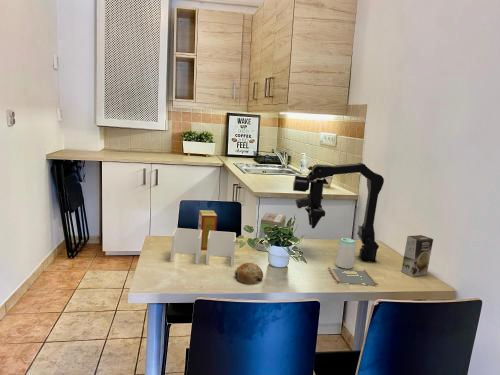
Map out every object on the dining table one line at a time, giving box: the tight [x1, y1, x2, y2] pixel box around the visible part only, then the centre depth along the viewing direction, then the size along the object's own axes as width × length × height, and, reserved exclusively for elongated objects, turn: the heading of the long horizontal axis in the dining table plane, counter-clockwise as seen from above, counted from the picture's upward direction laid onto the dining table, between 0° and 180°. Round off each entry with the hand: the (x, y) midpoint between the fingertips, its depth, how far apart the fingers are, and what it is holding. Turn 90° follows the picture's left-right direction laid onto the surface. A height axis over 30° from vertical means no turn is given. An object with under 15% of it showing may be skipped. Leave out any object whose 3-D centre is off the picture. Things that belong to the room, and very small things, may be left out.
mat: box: [327, 266, 379, 286], centre depth 162 cm, size 16×14×1 cm
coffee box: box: [400, 234, 434, 278], centre depth 171 cm, size 9×6×16 cm
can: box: [335, 237, 357, 270], centre depth 172 cm, size 7×7×12 cm
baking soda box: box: [197, 209, 218, 251], centre depth 181 cm, size 10×6×16 cm
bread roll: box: [234, 262, 264, 285], centre depth 150 cm, size 10×10×8 cm
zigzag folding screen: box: [170, 227, 237, 267], centre depth 165 cm, size 25×11×11 cm, turn 92°
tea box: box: [257, 212, 287, 252], centre depth 188 cm, size 15×10×15 cm
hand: (311, 226), depth 183 cm, fingers open, 5 cm apart
